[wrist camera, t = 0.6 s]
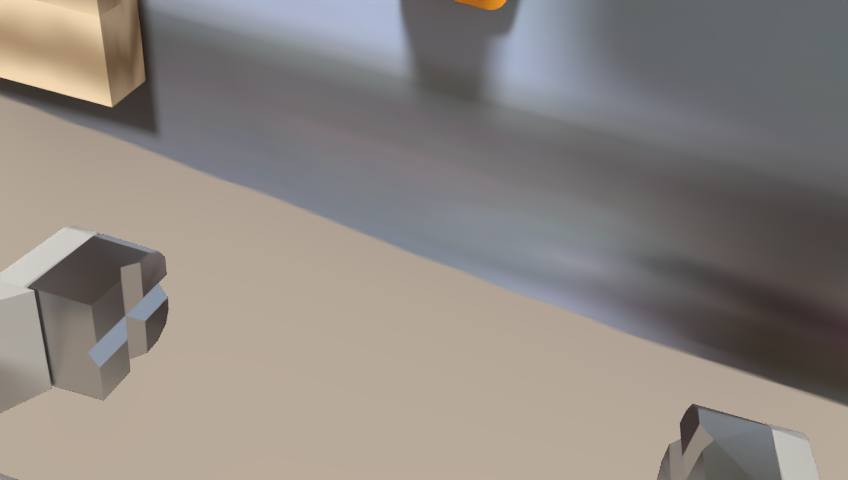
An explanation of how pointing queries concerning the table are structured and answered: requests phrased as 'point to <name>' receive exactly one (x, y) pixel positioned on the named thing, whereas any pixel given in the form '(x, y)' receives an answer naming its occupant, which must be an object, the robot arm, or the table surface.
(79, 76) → the oak hole block
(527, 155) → the table surface
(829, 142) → the table surface
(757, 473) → the robot arm
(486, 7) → the bracket
